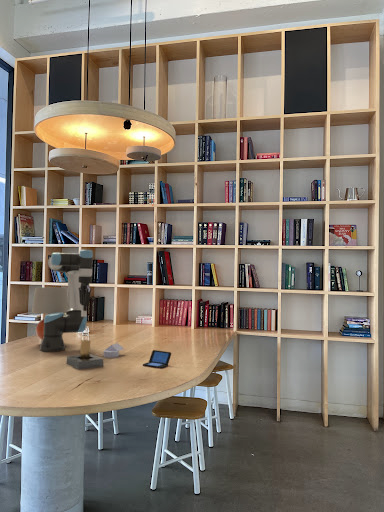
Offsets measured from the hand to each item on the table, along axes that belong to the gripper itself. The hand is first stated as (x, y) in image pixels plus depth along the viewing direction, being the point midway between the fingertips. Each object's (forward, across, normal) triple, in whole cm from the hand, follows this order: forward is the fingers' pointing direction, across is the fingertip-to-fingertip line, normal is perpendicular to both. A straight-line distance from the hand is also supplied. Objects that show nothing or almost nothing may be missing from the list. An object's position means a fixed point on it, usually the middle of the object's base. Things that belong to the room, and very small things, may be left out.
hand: (83, 316), depth 244 cm
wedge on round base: (+25, +1, +19) cm, 31 cm away
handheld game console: (+25, +38, +27) cm, 53 cm away
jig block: (+24, +17, -6) cm, 30 cm away
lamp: (+25, -57, +1) cm, 62 cm away
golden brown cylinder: (+23, +17, -6) cm, 29 cm away
